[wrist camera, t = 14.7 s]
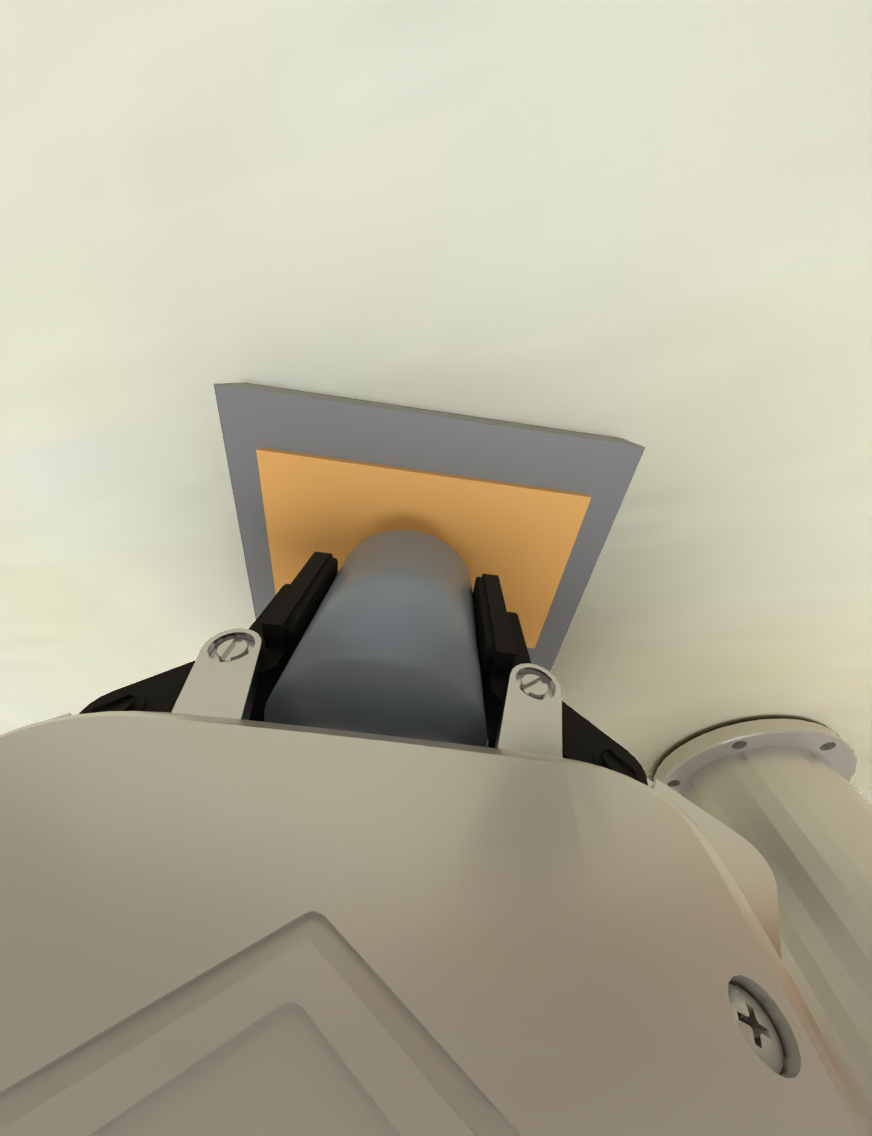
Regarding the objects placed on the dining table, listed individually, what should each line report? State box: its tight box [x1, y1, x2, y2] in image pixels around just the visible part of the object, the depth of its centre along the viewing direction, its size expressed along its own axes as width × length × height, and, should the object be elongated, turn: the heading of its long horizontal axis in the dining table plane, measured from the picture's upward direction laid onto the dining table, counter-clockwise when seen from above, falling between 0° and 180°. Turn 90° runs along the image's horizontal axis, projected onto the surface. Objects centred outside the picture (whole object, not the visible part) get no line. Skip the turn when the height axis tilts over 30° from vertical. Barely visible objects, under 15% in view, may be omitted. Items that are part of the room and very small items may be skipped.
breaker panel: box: [214, 383, 645, 672], centre depth 18 cm, size 24×16×4 cm, turn 173°
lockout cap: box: [264, 529, 487, 747], centre depth 10 cm, size 5×5×6 cm
